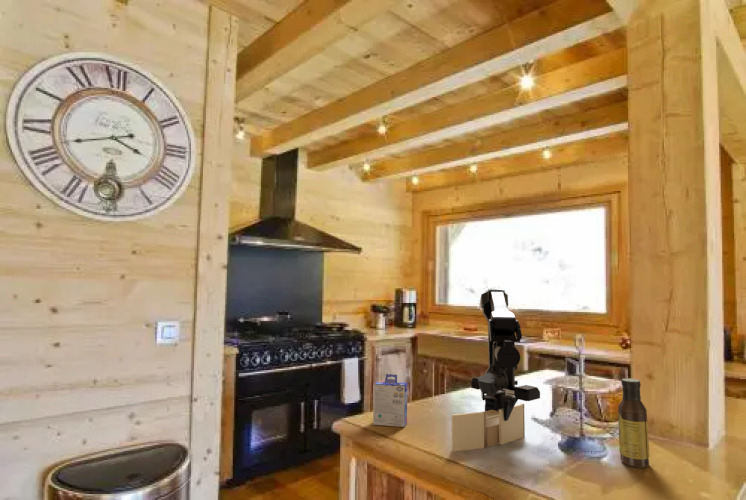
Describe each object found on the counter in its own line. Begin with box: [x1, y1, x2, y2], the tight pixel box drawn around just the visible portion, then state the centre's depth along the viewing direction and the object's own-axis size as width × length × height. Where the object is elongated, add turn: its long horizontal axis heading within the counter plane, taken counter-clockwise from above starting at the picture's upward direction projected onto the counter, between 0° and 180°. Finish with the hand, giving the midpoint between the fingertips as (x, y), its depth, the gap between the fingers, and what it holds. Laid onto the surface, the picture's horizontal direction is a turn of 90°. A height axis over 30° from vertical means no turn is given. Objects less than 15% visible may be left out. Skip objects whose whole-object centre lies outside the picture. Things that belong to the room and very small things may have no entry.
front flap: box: [451, 411, 487, 452], centre depth 118 cm, size 1×10×9 cm, turn 108°
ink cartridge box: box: [372, 373, 408, 428], centre depth 139 cm, size 10×6×14 cm, turn 78°
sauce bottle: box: [617, 377, 650, 469], centre depth 110 cm, size 6×6×20 cm
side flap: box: [498, 403, 526, 445], centre depth 125 cm, size 11×1×9 cm, turn 128°
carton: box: [484, 410, 499, 448], centre depth 128 cm, size 15×10×5 cm, turn 128°
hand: (504, 420), depth 123 cm, fingers closed, pressing on side flap
